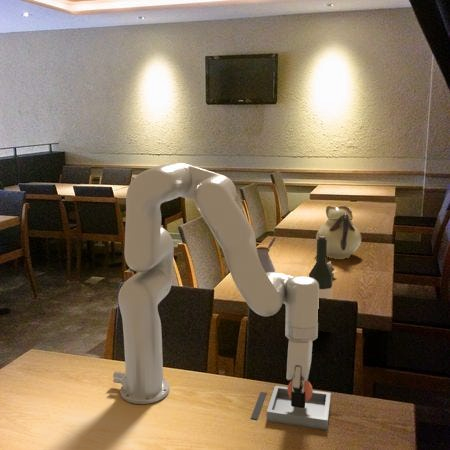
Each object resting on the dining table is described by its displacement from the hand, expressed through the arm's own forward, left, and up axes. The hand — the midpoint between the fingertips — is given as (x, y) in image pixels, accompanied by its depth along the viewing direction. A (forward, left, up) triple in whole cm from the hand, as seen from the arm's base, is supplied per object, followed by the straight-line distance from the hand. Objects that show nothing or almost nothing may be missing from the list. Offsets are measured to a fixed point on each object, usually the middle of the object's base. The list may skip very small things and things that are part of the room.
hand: (299, 398), depth 120 cm
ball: (0, 0, +2) cm, 2 cm away
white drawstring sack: (+3, +145, -3) cm, 145 cm away
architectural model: (0, +108, -4) cm, 108 cm away
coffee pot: (-28, +108, -3) cm, 112 cm away
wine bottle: (0, +59, -3) cm, 59 cm away
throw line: (-10, 0, -3) cm, 11 cm away
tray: (0, 0, -3) cm, 3 cm away
